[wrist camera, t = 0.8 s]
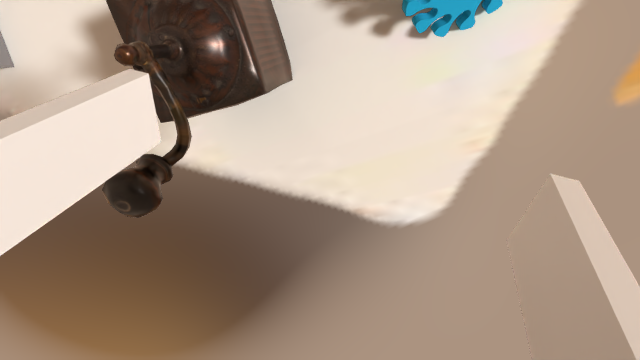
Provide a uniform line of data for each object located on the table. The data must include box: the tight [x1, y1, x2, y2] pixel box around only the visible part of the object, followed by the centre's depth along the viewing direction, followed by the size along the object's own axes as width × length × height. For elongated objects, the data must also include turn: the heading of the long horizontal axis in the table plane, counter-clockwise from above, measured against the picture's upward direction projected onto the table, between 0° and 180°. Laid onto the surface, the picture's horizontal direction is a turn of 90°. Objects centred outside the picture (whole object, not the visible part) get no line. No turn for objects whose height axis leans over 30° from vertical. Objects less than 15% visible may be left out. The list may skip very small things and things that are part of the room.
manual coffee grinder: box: [102, 0, 292, 218], centre depth 27 cm, size 16×11×18 cm
